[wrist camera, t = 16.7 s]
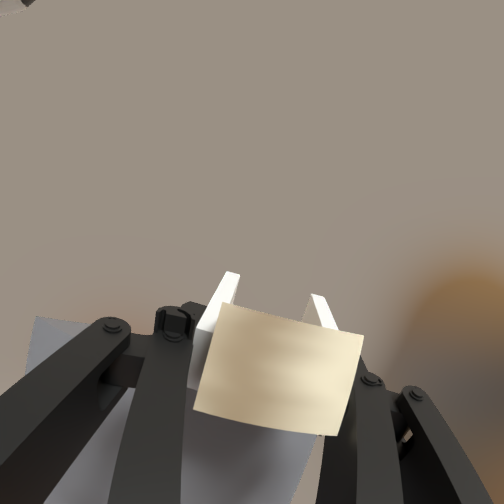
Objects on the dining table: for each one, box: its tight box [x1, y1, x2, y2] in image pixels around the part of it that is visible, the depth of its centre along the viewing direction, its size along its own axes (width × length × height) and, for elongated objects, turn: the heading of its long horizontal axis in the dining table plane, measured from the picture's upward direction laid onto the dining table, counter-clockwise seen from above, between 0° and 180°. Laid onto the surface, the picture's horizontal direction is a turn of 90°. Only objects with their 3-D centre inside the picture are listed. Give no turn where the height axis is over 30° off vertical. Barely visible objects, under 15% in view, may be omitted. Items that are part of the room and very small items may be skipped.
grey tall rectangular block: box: [25, 316, 317, 504], centre depth 17 cm, size 20×14×29 cm
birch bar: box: [193, 302, 364, 436], centre depth 18 cm, size 4×24×3 cm, turn 3°
